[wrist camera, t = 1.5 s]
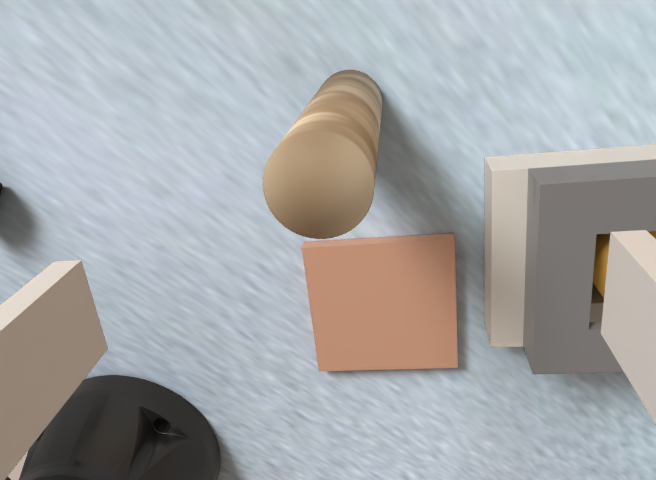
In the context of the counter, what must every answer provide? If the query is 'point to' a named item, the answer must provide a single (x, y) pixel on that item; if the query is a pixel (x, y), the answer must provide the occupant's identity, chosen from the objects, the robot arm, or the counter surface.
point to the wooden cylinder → (328, 159)
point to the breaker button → (603, 260)
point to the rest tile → (383, 302)
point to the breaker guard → (558, 248)
